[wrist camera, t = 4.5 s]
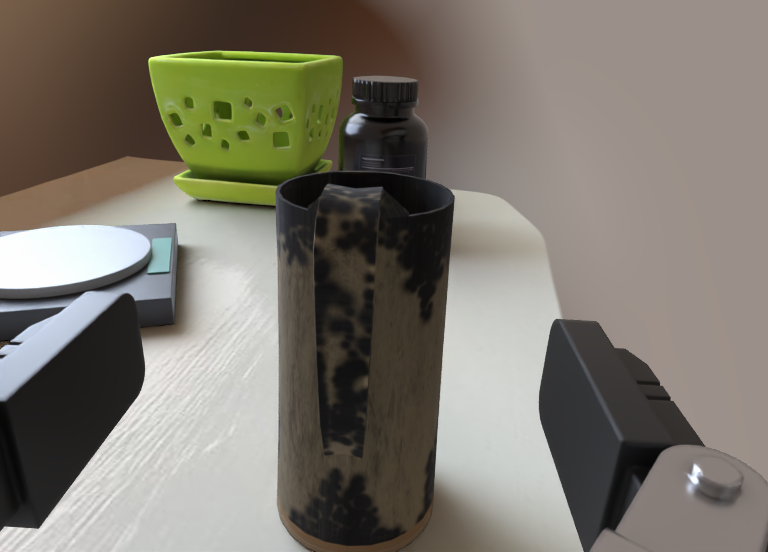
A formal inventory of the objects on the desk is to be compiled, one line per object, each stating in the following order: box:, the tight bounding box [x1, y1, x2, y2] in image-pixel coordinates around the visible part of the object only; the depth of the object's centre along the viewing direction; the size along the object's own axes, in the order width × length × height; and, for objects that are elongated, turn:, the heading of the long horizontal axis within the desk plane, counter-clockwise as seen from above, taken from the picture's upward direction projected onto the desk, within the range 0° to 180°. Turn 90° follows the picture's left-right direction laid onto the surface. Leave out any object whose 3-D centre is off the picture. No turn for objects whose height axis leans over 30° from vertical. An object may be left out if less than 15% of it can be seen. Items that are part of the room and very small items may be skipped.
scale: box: [0, 223, 178, 341], centre depth 35 cm, size 13×13×2 cm
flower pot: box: [149, 51, 343, 206], centre depth 54 cm, size 14×14×13 cm
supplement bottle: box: [339, 76, 428, 179], centre depth 44 cm, size 7×7×12 cm
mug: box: [275, 171, 455, 552], centre depth 17 cm, size 8×6×12 cm
